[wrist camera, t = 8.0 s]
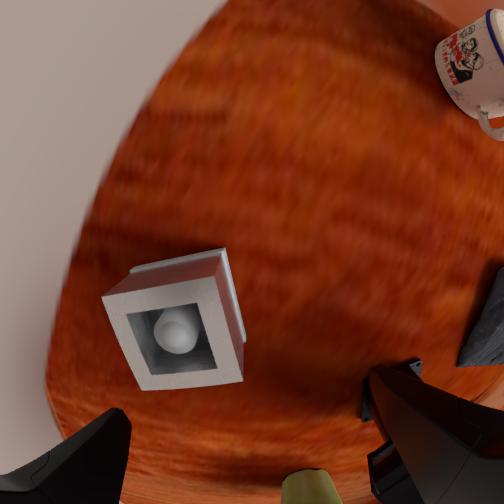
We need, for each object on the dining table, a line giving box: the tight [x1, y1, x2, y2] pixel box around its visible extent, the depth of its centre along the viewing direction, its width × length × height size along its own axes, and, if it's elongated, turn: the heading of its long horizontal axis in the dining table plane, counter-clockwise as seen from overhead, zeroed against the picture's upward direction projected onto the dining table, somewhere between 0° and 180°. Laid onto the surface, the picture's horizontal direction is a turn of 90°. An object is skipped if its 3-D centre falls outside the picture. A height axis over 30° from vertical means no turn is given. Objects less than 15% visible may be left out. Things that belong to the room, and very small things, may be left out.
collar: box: [102, 253, 244, 391], centre depth 17 cm, size 7×7×5 cm
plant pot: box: [281, 469, 343, 504], centre depth 22 cm, size 9×9×9 cm
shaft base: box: [130, 248, 246, 354], centre depth 17 cm, size 7×7×6 cm
